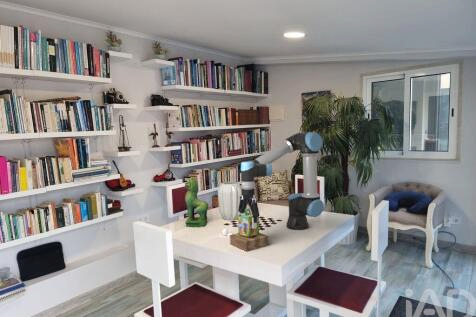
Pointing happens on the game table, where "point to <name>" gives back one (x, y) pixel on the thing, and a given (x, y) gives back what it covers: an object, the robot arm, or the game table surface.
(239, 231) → the chalk box
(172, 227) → the game table surface
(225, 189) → the vase
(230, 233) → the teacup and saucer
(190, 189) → the lion statue
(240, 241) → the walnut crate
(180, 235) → the game table surface
